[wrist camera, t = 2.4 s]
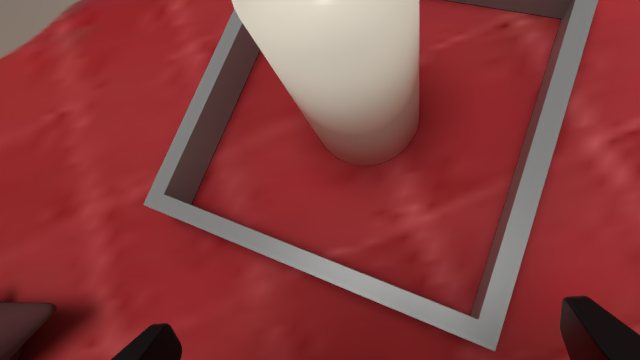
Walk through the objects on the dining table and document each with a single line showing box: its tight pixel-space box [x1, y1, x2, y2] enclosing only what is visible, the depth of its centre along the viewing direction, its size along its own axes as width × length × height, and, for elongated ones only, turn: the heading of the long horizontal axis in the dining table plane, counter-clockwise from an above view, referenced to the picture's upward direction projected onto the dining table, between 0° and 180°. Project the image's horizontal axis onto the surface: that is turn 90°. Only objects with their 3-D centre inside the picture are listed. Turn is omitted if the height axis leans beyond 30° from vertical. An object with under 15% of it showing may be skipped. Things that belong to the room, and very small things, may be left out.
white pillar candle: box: [232, 0, 419, 166], centre depth 19 cm, size 6×6×12 cm
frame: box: [143, 0, 598, 351], centre depth 23 cm, size 20×20×3 cm
